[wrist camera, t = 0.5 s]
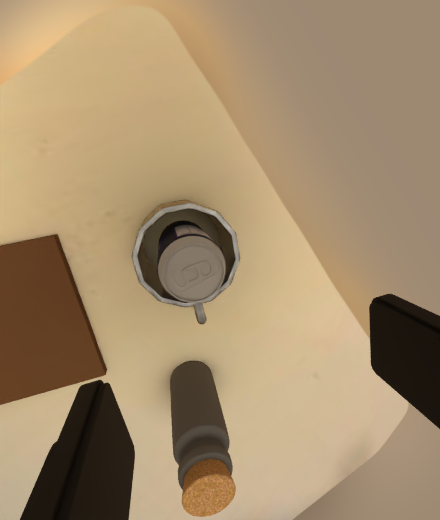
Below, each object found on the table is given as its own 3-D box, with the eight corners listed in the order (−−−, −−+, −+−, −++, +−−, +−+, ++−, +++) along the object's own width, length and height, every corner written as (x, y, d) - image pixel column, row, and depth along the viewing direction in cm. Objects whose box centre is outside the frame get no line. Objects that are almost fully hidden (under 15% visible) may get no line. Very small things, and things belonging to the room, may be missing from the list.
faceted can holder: (129, 210, 30) (119, 216, 23) (215, 193, 31) (229, 194, 25) (157, 312, 33) (156, 342, 27) (233, 292, 35) (249, 317, 28)
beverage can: (151, 228, 31) (145, 252, 19) (197, 213, 31) (217, 227, 20) (168, 272, 32) (172, 317, 21) (212, 257, 33) (238, 292, 22)
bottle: (163, 390, 37) (163, 518, 22) (181, 355, 36) (194, 465, 22) (200, 400, 38) (223, 525, 24) (219, 367, 37) (253, 476, 23)
